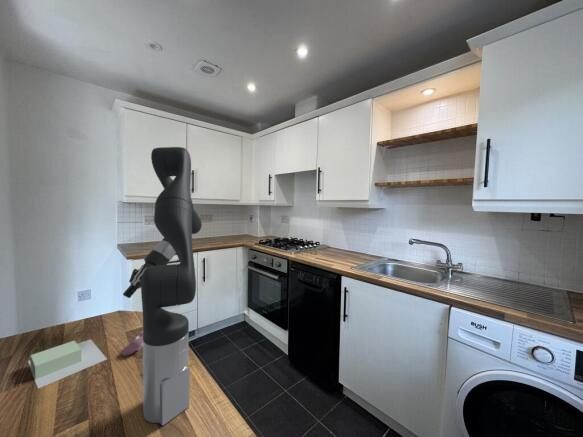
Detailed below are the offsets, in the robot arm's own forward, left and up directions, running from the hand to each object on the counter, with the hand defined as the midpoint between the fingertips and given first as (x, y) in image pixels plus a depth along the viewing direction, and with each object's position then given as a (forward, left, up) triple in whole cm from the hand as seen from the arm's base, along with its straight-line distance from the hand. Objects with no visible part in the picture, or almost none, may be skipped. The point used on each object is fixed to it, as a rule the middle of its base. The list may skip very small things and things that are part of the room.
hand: (125, 296), depth 80 cm
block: (-1, +13, -12) cm, 18 cm away
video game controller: (-10, -1, -15) cm, 18 cm away
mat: (-1, +15, -14) cm, 21 cm away
